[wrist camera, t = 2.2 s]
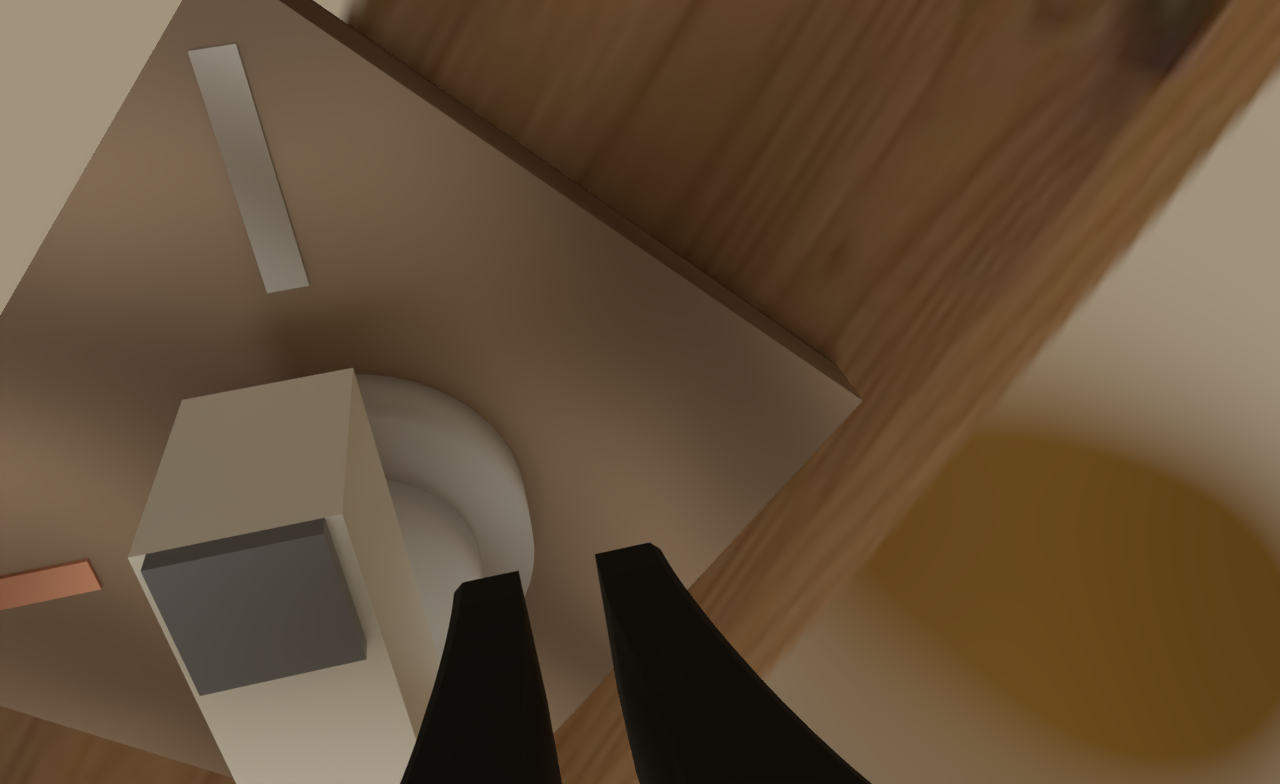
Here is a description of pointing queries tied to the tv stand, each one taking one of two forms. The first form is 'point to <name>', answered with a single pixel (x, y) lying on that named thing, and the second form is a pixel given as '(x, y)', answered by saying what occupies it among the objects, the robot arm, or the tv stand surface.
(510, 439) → the base
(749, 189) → the tv stand surface
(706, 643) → the robot arm
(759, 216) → the tv stand surface
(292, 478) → the lock handle
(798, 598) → the tv stand surface
